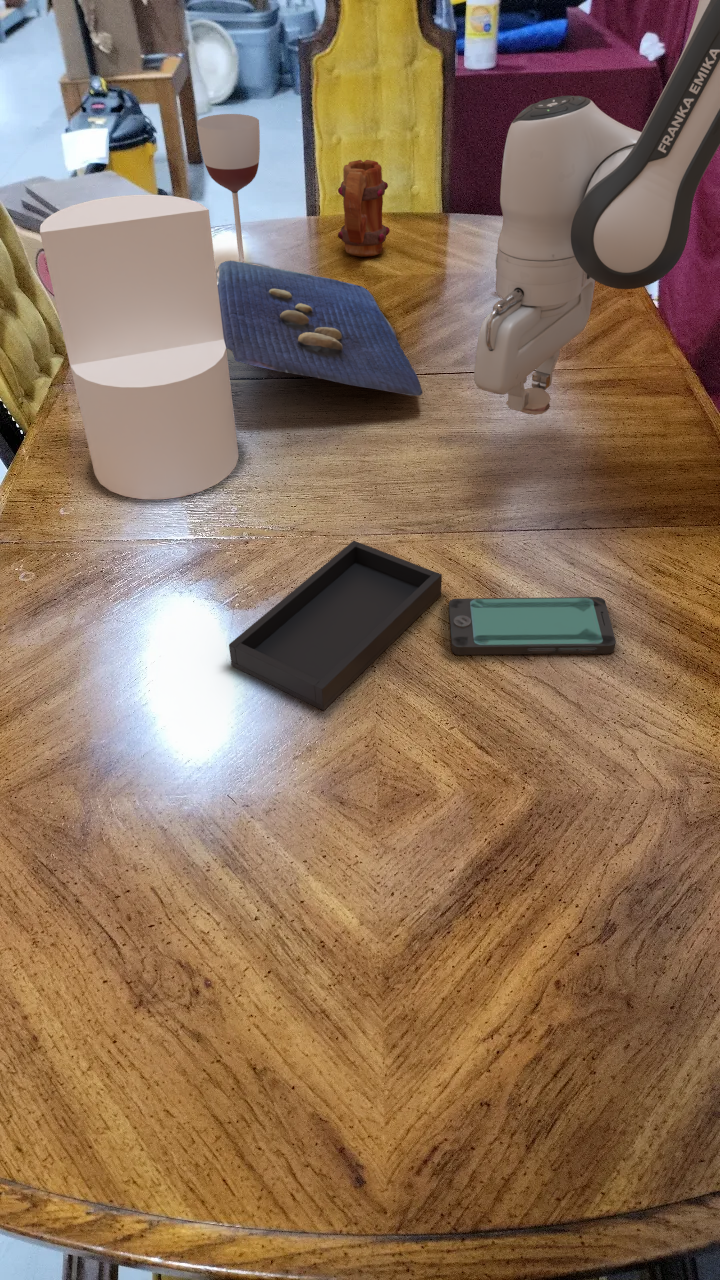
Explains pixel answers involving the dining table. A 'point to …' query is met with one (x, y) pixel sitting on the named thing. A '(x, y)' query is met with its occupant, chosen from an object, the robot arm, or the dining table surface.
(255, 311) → the mat
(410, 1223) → the dining table surface
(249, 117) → the wineglass
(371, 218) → the mug
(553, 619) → the smartphone
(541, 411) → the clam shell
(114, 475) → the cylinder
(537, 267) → the robot arm
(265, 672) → the tray
